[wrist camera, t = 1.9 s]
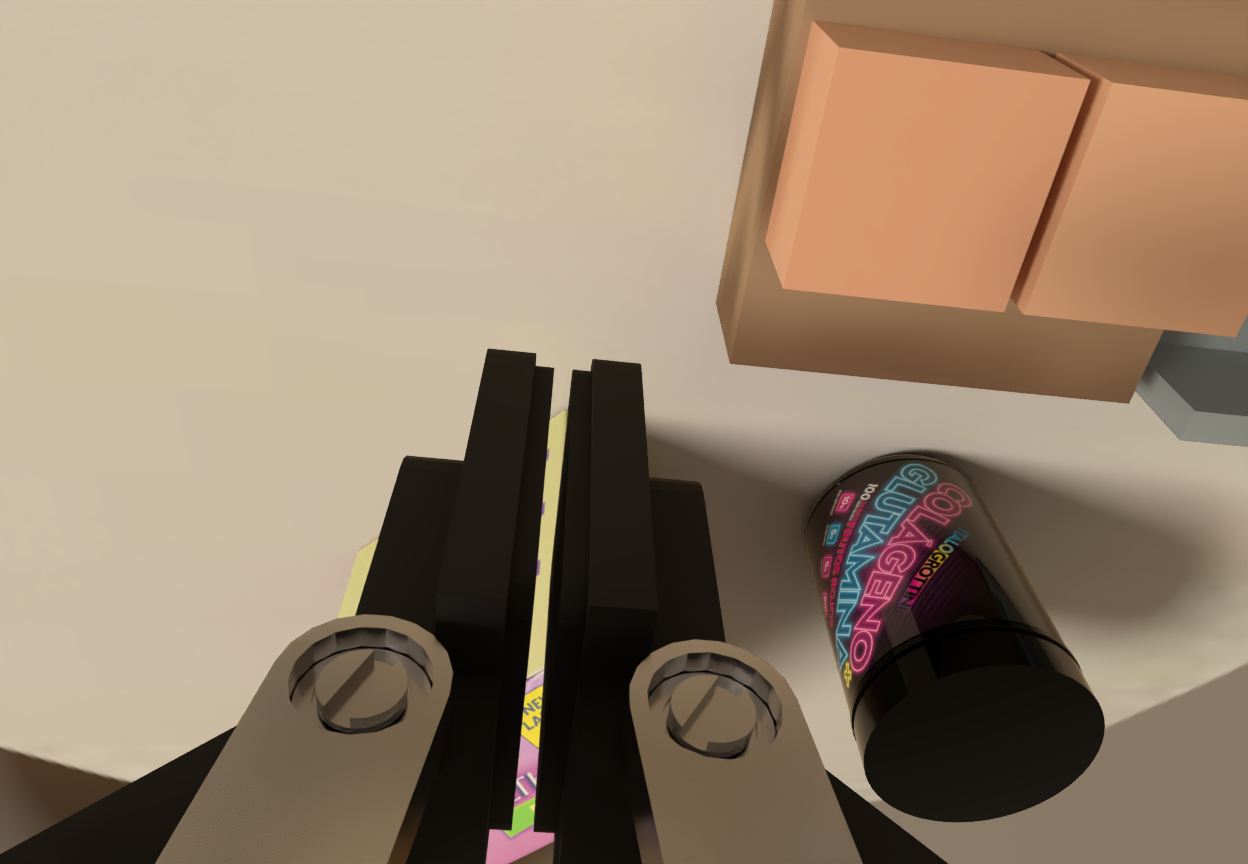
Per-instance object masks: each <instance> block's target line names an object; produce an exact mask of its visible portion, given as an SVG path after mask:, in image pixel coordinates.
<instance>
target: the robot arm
mask: <svg viewBox="0 0 1248 864" xmlns="http://www.w3.org/2000/svg"><path fill="white" fill-rule="evenodd" d="M553 376H554V368H550V367H540V366H536V353H527V352H517V351H507V350H497V349H488V350H487V354H486V359H485V363H484V368H483V373H482V378H481V382H480V387H479V392H478V396H477V401H476V406H475V411H474V415H473V420H472V425H471V430H470V434H469V439H468V444H467V449H466V453H465V458H464V461H460V460H449V459H438V458H427V457H416V456H406V457H405V458H404V459H403V461H402V464H401V466H400V470H399V473H398V476H397V480H396V483H395V486H394V489H393V493H392V496H391V499H390V502H389V506H388V509H387V512H386V516H385V519H384V522H383V525H382V529H381V532H380V535H379V538H378V542H377V545H376V548H375V552H374V555H373V558H372V561H371V565H370V568H369V571H368V575H367V578H366V581H365V584H364V588H363V591H362V594H361V597H360V601H359V604H358V607H357V611H356V614H355V616H350V617H343V618H337V619H335V620H332V621H330V622H327V623H324V624H322V625H319V626H316V627H314V628H312V629H310V630H309V631H307V632H306V633H304V634H303V635H301V636H300V637H298V638H297V639H295V640H294V641H292V642H291V643H290V644H289V645H288V647H287V648H286V649H285V650H284V651H283V652H282V654H281V655H280V656H279V657H278V658H277V660H276V661H275V662H274V664H273V666H272V667H271V669H270V671H269V672H268V674H267V676H266V677H265V679H264V681H263V683H262V684H261V686H260V688H259V689H258V691H257V693H256V694H255V696H254V698H253V699H252V701H251V703H250V704H249V706H248V708H247V709H246V711H245V713H244V715H243V716H242V718H241V720H240V721H239V723H238V725H237V726H235V727H233V728H231V729H230V730H228V731H226V732H224V733H222V734H220V735H219V736H217V737H215V738H213V739H211V740H209V741H208V742H206V743H204V744H202V745H200V746H198V747H197V748H195V749H193V750H191V751H189V752H187V753H185V754H184V755H182V756H180V757H178V758H176V759H174V760H173V761H171V762H169V763H167V764H165V765H163V766H162V767H160V768H158V769H156V770H154V771H152V772H151V773H149V774H147V775H145V776H143V777H141V778H140V779H138V780H136V781H134V782H132V783H130V784H129V785H127V786H125V787H123V788H121V789H119V790H118V791H116V792H114V793H112V794H110V795H108V796H106V797H105V798H103V799H101V800H99V801H97V802H96V803H94V804H92V805H90V806H88V807H86V808H84V809H83V810H81V811H79V812H77V813H75V814H73V815H71V816H70V817H68V818H66V819H64V820H62V821H60V822H59V823H57V824H55V825H53V826H51V827H49V828H48V829H46V830H44V831H42V832H40V833H38V834H37V835H35V836H33V837H31V838H29V839H27V840H26V841H24V842H22V843H20V844H18V845H16V846H15V847H13V848H11V849H9V850H7V851H5V852H4V853H2V854H0V864H486V858H487V849H488V840H489V831H490V829H491V830H508V831H512V821H513V811H514V801H515V791H516V781H517V771H518V761H519V751H520V741H521V730H522V720H523V710H524V700H525V690H526V680H527V670H528V660H529V650H530V640H531V630H532V619H533V609H534V598H535V587H536V575H537V564H538V552H539V540H540V528H541V517H542V505H543V493H544V481H545V470H546V458H547V446H548V434H549V423H550V411H551V399H552V387H553ZM533 831H534V832H542V833H554V849H553V864H948V863H947V862H945V861H944V860H943V859H941V858H940V857H939V856H937V855H936V854H935V853H934V852H932V851H931V850H930V849H928V848H927V847H926V846H924V845H923V844H922V843H921V842H919V841H918V840H917V839H915V838H914V837H913V836H911V835H910V834H909V833H908V832H906V831H905V830H904V829H902V828H901V827H900V826H899V825H897V824H896V823H894V822H893V821H892V820H891V819H889V818H888V817H887V816H885V815H884V814H883V813H881V812H880V811H879V810H878V809H876V808H875V807H874V806H873V805H871V804H870V803H869V802H867V801H866V800H865V799H863V798H862V797H861V796H860V795H858V794H857V793H856V792H854V791H853V790H852V789H850V788H849V787H848V786H847V785H845V784H844V783H843V782H841V781H840V780H839V779H837V778H836V777H835V776H834V775H832V774H831V773H830V772H828V771H827V770H826V769H825V768H824V765H823V763H822V760H821V758H820V755H819V753H818V750H817V748H816V745H815V743H814V740H813V738H812V735H811V733H810V730H809V728H808V725H807V723H806V720H805V718H804V715H803V713H802V710H801V708H800V705H799V703H798V700H797V698H796V696H795V695H794V693H793V691H792V690H791V688H790V686H789V685H788V683H787V681H786V680H785V678H784V677H783V676H781V675H780V674H779V673H778V672H777V671H776V670H775V669H774V668H773V667H772V666H771V665H770V664H769V663H768V662H766V661H765V660H763V659H761V658H759V657H758V656H756V655H754V654H752V653H751V652H749V651H747V650H746V649H743V648H740V647H736V646H733V645H730V644H727V643H726V642H725V635H724V629H723V622H722V615H721V608H720V602H719V595H718V588H717V581H716V575H715V568H714V561H713V554H712V548H711V541H710V534H709V527H708V521H707V514H706V507H705V500H704V493H703V489H702V485H701V484H700V483H699V482H693V481H682V480H671V479H660V478H649V469H648V455H647V441H646V427H645V413H644V398H643V384H642V370H641V364H638V363H628V362H618V361H608V360H598V359H593V360H592V365H591V371H580V370H573V371H572V379H571V388H570V397H569V406H568V416H567V425H566V434H565V443H564V452H563V462H562V471H561V480H560V489H559V498H558V507H557V517H556V526H555V535H554V544H553V553H552V564H551V575H550V588H549V603H548V618H547V632H546V647H545V662H544V677H543V692H542V707H541V722H540V737H539V752H538V767H537V782H536V796H535V811H534V829H533Z"/></svg>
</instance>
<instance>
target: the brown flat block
mask: <svg viewBox="0 0 1248 864" xmlns="http://www.w3.org/2000/svg"><path fill="white" fill-rule="evenodd" d="M813 20H815V21H823V22H830V23H838V24H846V25H853V26H861V27H868V28H876V29H884V30H891V31H899V32H907V33H914V34H922V35H929V36H937V37H945V38H952V39H960V40H967V41H975V42H983V43H990V44H998V45H1005V46H1013V47H1021V48H1028V49H1036V50H1039V51H1041V52H1042V53H1044V54H1046V55H1048V56H1049V57H1051V58H1053V59H1055V58H1056V55H1057V52H1059V53H1066V54H1074V55H1081V56H1089V57H1097V58H1104V59H1112V60H1120V61H1127V62H1135V63H1142V64H1150V65H1158V66H1165V67H1173V68H1180V69H1188V70H1196V71H1203V72H1211V73H1218V74H1226V75H1234V76H1241V77H1248V0H774V5H773V10H772V15H771V20H770V26H769V31H768V36H767V41H766V46H765V51H764V57H763V62H762V67H761V72H760V77H759V83H758V88H757V93H756V98H755V103H754V108H753V114H752V119H751V124H750V129H749V134H748V140H747V145H746V150H745V155H744V160H743V166H742V171H741V176H740V181H739V186H738V191H737V197H736V202H735V207H734V212H733V217H732V223H731V228H730V233H729V238H728V243H727V248H726V254H725V259H724V264H723V269H722V274H721V280H720V285H719V290H718V295H717V300H716V305H717V309H718V314H719V318H720V322H721V327H722V331H723V335H724V340H725V344H726V348H727V353H728V357H729V361H730V364H739V365H749V366H759V367H769V368H779V369H789V370H799V371H809V372H819V373H829V374H839V375H849V376H859V377H869V378H879V379H889V380H899V381H909V382H919V383H929V384H939V385H949V386H959V387H969V388H979V389H989V390H999V391H1009V392H1019V393H1029V394H1039V395H1049V396H1059V397H1069V398H1079V399H1089V400H1099V401H1109V402H1118V403H1128V404H1129V402H1130V400H1131V398H1132V396H1133V394H1134V392H1135V390H1136V387H1137V385H1138V383H1139V381H1140V379H1141V377H1142V375H1143V373H1144V371H1145V369H1146V366H1147V364H1148V362H1149V360H1150V358H1151V356H1152V354H1153V352H1154V350H1155V348H1156V346H1157V343H1158V341H1159V339H1160V337H1161V335H1162V333H1163V331H1164V330H1163V329H1153V328H1144V327H1135V326H1125V325H1116V324H1107V323H1098V322H1088V321H1079V320H1070V319H1060V318H1051V317H1042V316H1032V315H1024V314H1023V313H1022V312H1021V311H1020V309H1019V308H1018V307H1017V306H1016V305H1015V303H1014V302H1013V301H1012V300H1011V299H1010V298H1009V301H1008V303H1007V306H1006V309H1005V311H1004V312H995V311H986V310H976V309H967V308H958V307H948V306H939V305H930V304H920V303H911V302H902V301H893V300H883V299H874V298H865V297H855V296H846V295H837V294H827V293H818V292H809V291H799V290H790V289H783V287H782V285H781V282H780V279H779V277H778V274H777V271H776V269H775V266H774V263H773V261H772V258H771V255H770V253H769V250H768V247H767V245H766V242H765V239H766V235H767V230H768V225H769V221H770V216H771V211H772V207H773V202H774V197H775V193H776V188H777V183H778V179H779V174H780V169H781V165H782V160H783V156H784V151H785V146H786V142H787V137H788V132H789V128H790V123H791V118H792V114H793V109H794V104H795V100H796V95H797V90H798V86H799V81H800V76H801V72H802V67H803V62H804V58H805V53H806V49H807V44H808V39H809V35H810V30H811V25H812V21H813Z"/></svg>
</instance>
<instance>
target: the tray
mask: <svg viewBox="0 0 1248 864" xmlns="http://www.w3.org/2000/svg"><path fill="white" fill-rule="evenodd" d="M1135 391H1136V392H1137V394H1138V395H1139V396H1140V397H1141V398H1142V399H1143V400H1144V401H1145V402H1146V403H1147V405H1148V406H1149V407H1150V408H1151V409H1152V410H1153V411H1154V412H1155V413H1156V414H1157V416H1158V417H1159V418H1160V419H1161V420H1162V421H1163V422H1164V423H1165V424H1166V425H1167V427H1168V428H1169V429H1170V430H1171V431H1172V432H1173V433H1174V434H1175V435H1176V436H1177V438H1178V439H1179V440H1182V441H1193V442H1203V443H1213V444H1224V445H1234V446H1244V447H1248V315H1247V316H1246V318H1245V320H1244V322H1243V324H1242V326H1241V328H1240V330H1239V332H1238V334H1237V336H1236V337H1228V336H1219V335H1209V334H1200V333H1191V332H1181V331H1172V330H1164V331H1163V333H1162V335H1161V337H1160V339H1159V341H1158V343H1157V346H1156V348H1155V350H1154V352H1153V354H1152V356H1151V358H1150V360H1149V362H1148V364H1147V366H1146V369H1145V371H1144V373H1143V375H1142V377H1141V379H1140V381H1139V383H1138V385H1137V387H1136V390H1135Z"/></svg>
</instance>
